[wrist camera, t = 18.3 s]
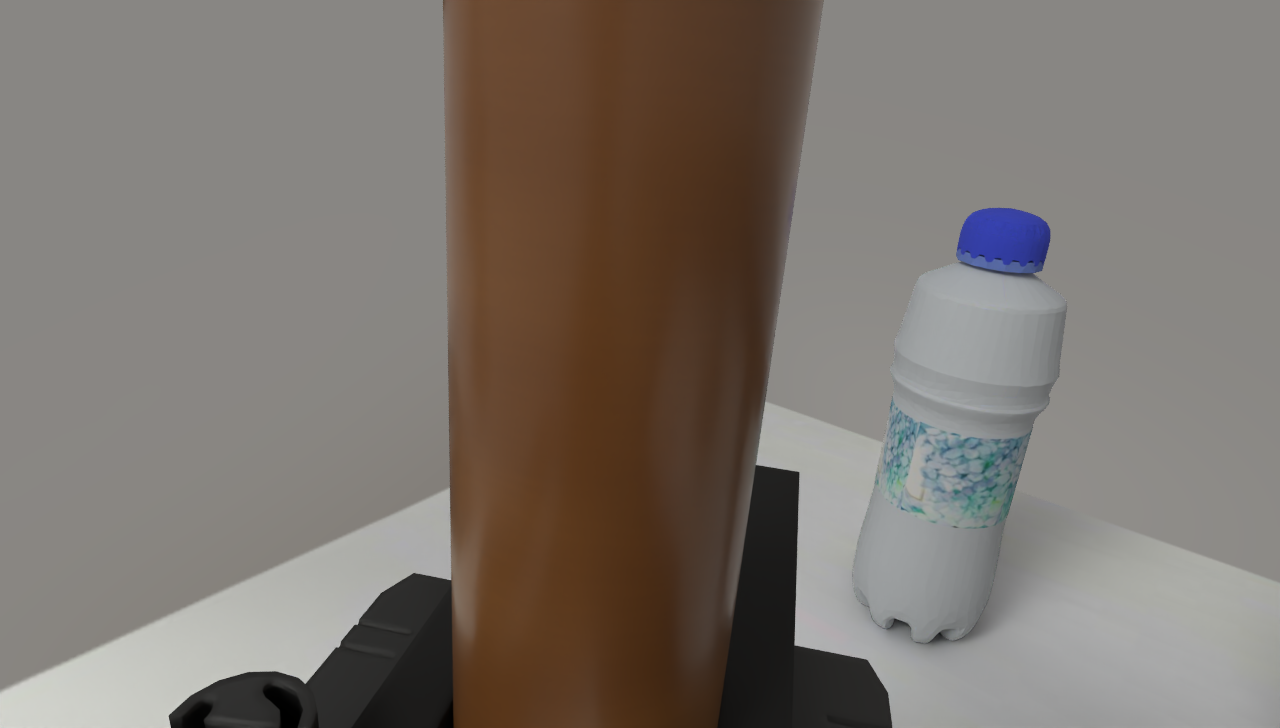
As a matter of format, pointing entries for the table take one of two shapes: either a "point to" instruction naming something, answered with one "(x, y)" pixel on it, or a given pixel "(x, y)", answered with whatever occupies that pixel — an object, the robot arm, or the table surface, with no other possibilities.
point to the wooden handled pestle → (610, 342)
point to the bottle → (959, 426)
